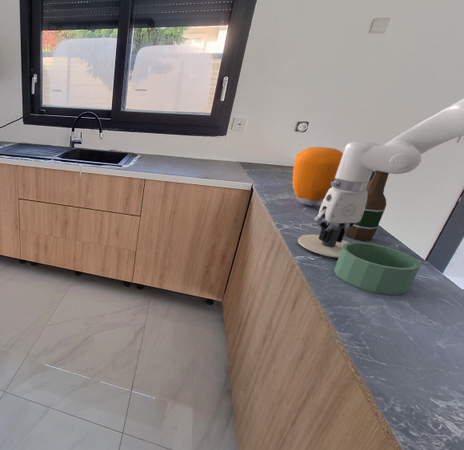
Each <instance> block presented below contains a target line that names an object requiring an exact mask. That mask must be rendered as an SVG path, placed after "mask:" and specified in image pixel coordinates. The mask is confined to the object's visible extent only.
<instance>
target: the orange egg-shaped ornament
mask: <svg viewBox="0 0 464 450" xmlns="http://www.w3.org/2000/svg"><path fill="white" fill-rule="evenodd" d="M342 155H343V152H342V151H341V150H340V149H337V148H333V147H324V146H312V147H307V148H305V149H303V150H301V151H299V152H298V153H297V154H296V155H295V158H294V163H293V169H292V189H293V191H294V194H295V198H296V199H297V201H298V203H300V204H303V205H306V206H309V207H311V206H312V207H313V206H315V205H317V204H318V203H319V202H320V201H323V200H324V198H325V196H326V194H327V192H328V191H329V189H330V188H332V186H331V182H334V179H335V176H336V173H337V170H338V167H339V164H340V161H341V158H342Z"/></svg>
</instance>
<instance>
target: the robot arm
mask: <svg viewBox="0 0 464 450" xmlns="http://www.w3.org/2000/svg"><path fill="white" fill-rule="evenodd" d="M463 136H464V97H463V98H462V99H460V100H458V101H456V102H455V103H453V104H451V105H449V106H448V107H446V108H443V109H441V111H438V112H436V114H435V113H434V115H432V116H430V117H428V118H426V119H424V120H422V121H421V122H419V123H416V124H415V125H413V126H411V127H410V128H409V129H407V130H405V131H404V132H402V133H399V135H397V136H395V137H394V138H392V139H391V140H389V141H388V142H386V143H384V144H383V145H381V144H379V143H377V142H373V141H363V140H362V141H360V140H358V141H357V140H355V141H350V142H348V143H346V145H345V147H344V149H343V152H342V153H343V155H342V158H341V161H340V164H339V167H338V170H337V173H336V176H335V179H334V182H331V186H332V188H330V189H329V191H328V192H327V194H326V196H325V198H324V199H322V202H321V204H320V207H319V211H318V214H317V216H315V218H314V219H313V222H315V224H318V226H319V227H320V233H319V234H318V235H319V239H320V240H321V241H323V242H325V243H328V241H329V239H330V236H331V233H332V231H330V230H331V228H332V226H334V224H337V223H338V224H337V227H339V228H341V231H340V234H339V237H338V239H337V242H342V240H344V237H345V231H348V230H349V227H351V226H352V225H354V224H356V223H358V222H360V221H361V218H362V216H363V213H364V210H365V206H366V202H367V195H368V191H366V188H367V185H368V183H369V180H370V177H371V175H372V172H373V171H375V170H377V171H381V172H386V173H389V174H392V175H402V174H407V173H410V172H412V171H413V170H416V168H417V167H418V166H420V164H421V162H422V154H424V153H427V152H429V150H432V149H434V148H436V147H438V146H439V145H441V144H444V143H446V142H449V141H451V140H454V139H457V138H460V137H463Z"/></svg>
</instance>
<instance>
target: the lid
mask: <svg viewBox="0 0 464 450" xmlns="http://www.w3.org/2000/svg"><path fill="white" fill-rule="evenodd" d="M330 231H332V233H331V236H330V239H329V241H328V243H325V242H323V241H321V240H320V239H319V235H320V234H303V235H300V236H299V237H298V239H297V243H298V244H299V245H300V246H301V247H303V248H304V249H306V250H308V251H310V252H313V253H316V254H319V255H322V256H325V257H329V258H330V257H331V258H337V259H338V258H339V255H340V253H341V250H342V247H343V245H344V244H347V243H350V242H349V241H347V240H344V239H342V242H337V239H338V237H339V234H340V231H341V228H339V227H338V226H336V225H333V226H332V228H331V230H330Z"/></svg>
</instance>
